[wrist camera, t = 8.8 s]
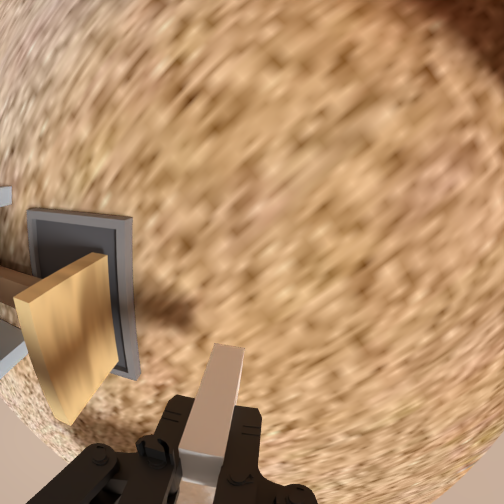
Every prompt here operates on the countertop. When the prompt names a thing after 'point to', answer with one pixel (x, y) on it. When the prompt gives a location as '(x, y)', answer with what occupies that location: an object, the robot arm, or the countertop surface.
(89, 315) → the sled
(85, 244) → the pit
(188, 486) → the mug
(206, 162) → the countertop surface
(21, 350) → the tunnel
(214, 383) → the robot arm
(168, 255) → the countertop surface
